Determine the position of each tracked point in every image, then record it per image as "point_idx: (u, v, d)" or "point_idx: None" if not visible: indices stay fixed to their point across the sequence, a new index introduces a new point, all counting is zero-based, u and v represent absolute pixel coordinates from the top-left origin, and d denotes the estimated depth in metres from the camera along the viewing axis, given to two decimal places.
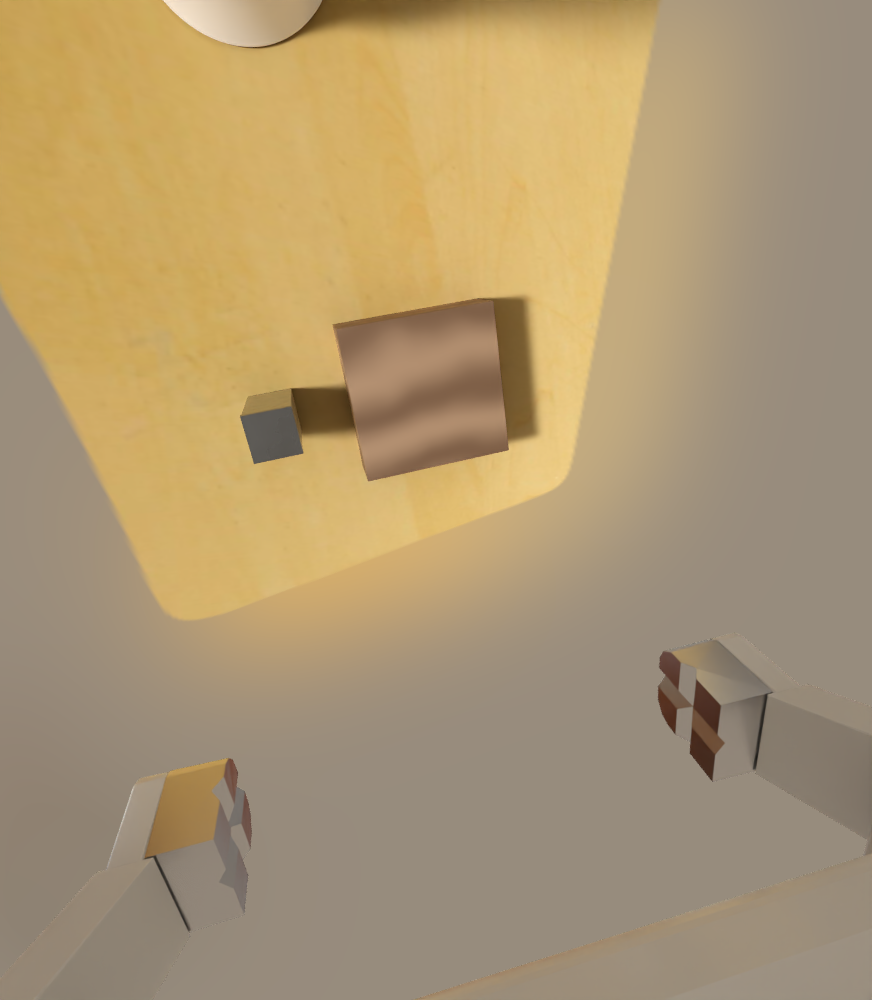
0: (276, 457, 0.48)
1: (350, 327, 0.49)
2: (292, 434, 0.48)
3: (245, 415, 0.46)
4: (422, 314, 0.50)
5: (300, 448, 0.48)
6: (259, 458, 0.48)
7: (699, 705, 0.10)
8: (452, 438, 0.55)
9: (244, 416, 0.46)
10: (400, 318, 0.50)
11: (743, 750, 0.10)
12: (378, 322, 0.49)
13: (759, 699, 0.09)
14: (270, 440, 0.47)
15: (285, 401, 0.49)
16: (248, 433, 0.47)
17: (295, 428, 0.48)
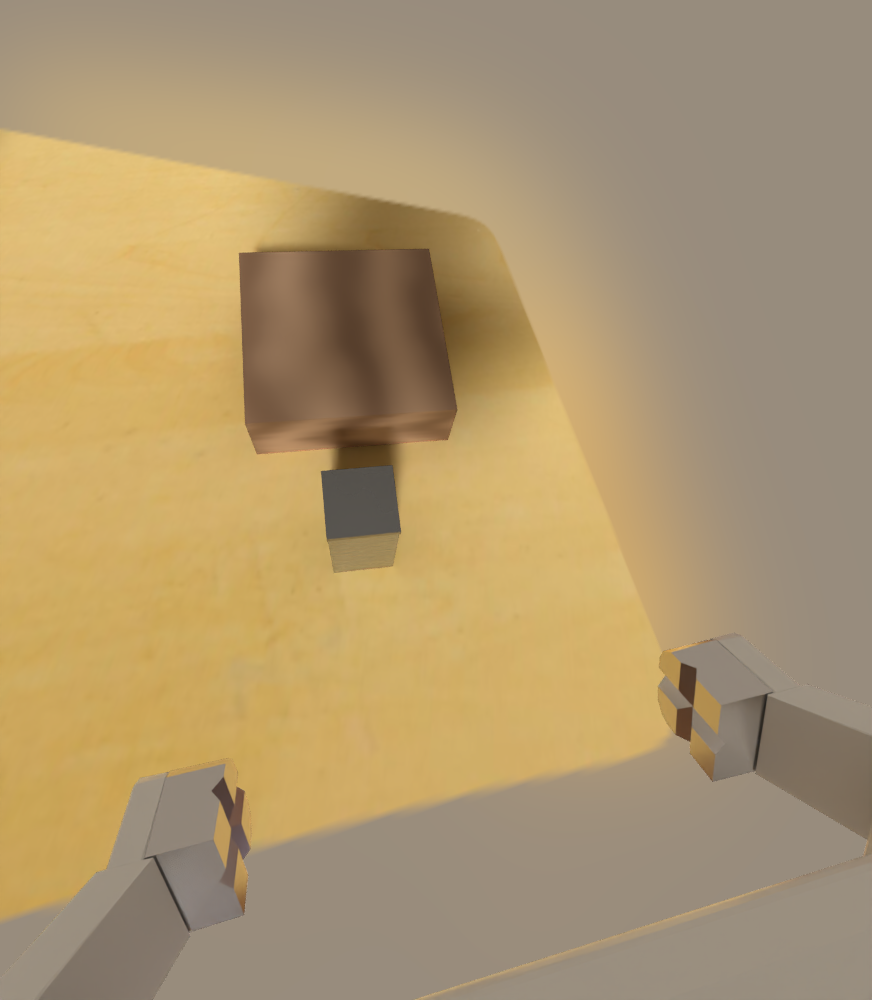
0: (394, 500, 0.33)
1: (245, 407, 0.38)
2: (362, 475, 0.33)
3: (327, 533, 0.32)
4: (242, 326, 0.40)
5: (384, 467, 0.34)
6: (393, 523, 0.32)
7: (700, 705, 0.10)
8: (407, 307, 0.42)
9: (327, 534, 0.32)
10: (243, 350, 0.39)
11: (743, 750, 0.10)
12: (244, 375, 0.38)
13: (759, 699, 0.09)
14: (367, 505, 0.33)
15: None
16: (353, 532, 0.32)
17: (354, 470, 0.33)
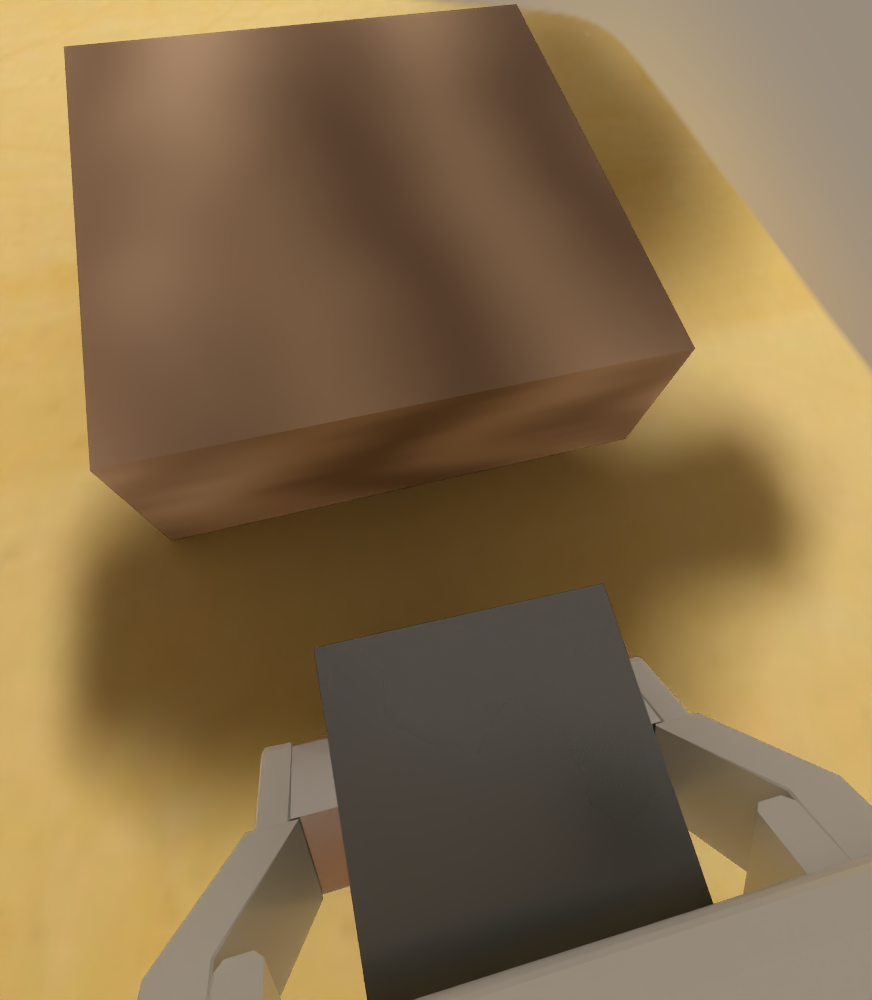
0: (649, 751, 0.07)
1: (91, 421, 0.12)
2: (491, 644, 0.08)
3: (369, 980, 0.06)
4: (77, 207, 0.15)
5: (574, 599, 0.08)
6: (673, 876, 0.07)
7: None
8: (497, 123, 0.17)
9: (374, 991, 0.06)
10: (81, 266, 0.14)
11: None
12: (85, 330, 0.13)
13: None
14: (537, 792, 0.07)
15: None
16: (500, 961, 0.06)
17: (453, 625, 0.08)
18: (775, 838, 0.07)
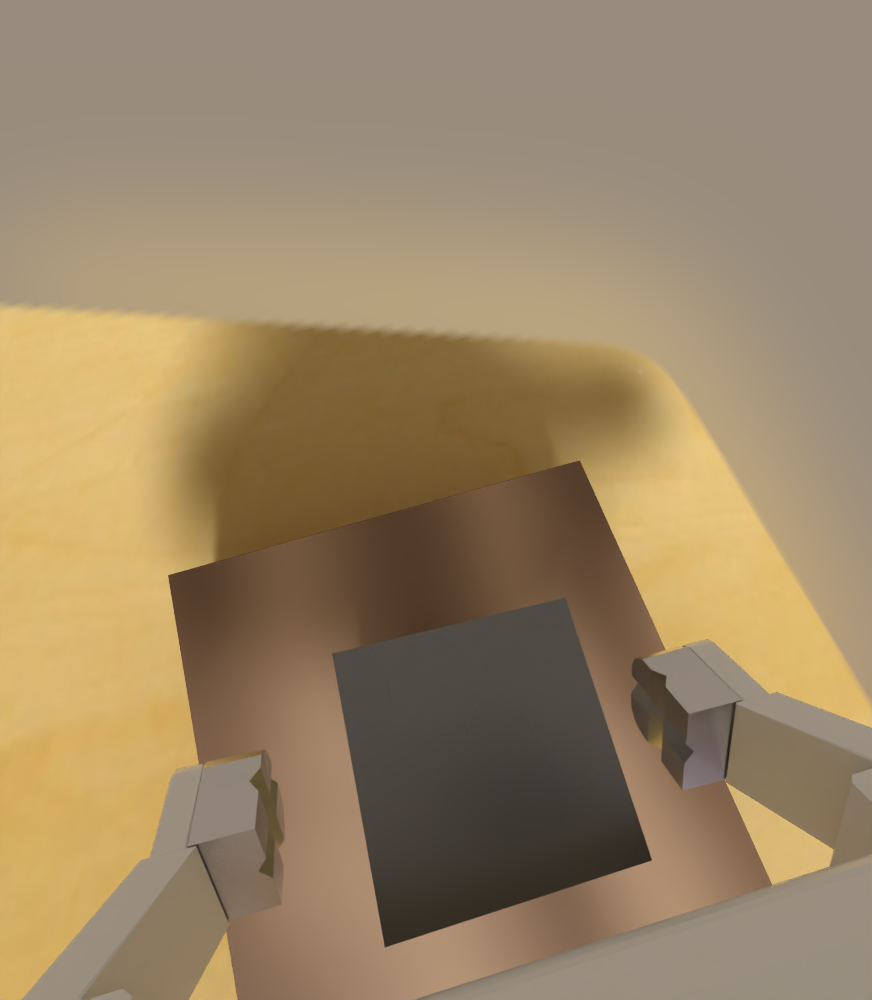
0: (600, 732, 0.09)
1: None
2: (475, 648, 0.10)
3: (381, 910, 0.08)
4: None
5: (542, 610, 0.10)
6: (617, 828, 0.09)
7: (670, 713, 0.10)
8: (578, 630, 0.18)
9: (385, 918, 0.08)
10: None
11: (713, 758, 0.10)
12: (235, 963, 0.14)
13: (728, 707, 0.09)
14: (511, 765, 0.09)
15: None
16: (482, 894, 0.08)
17: (444, 634, 0.10)
18: None
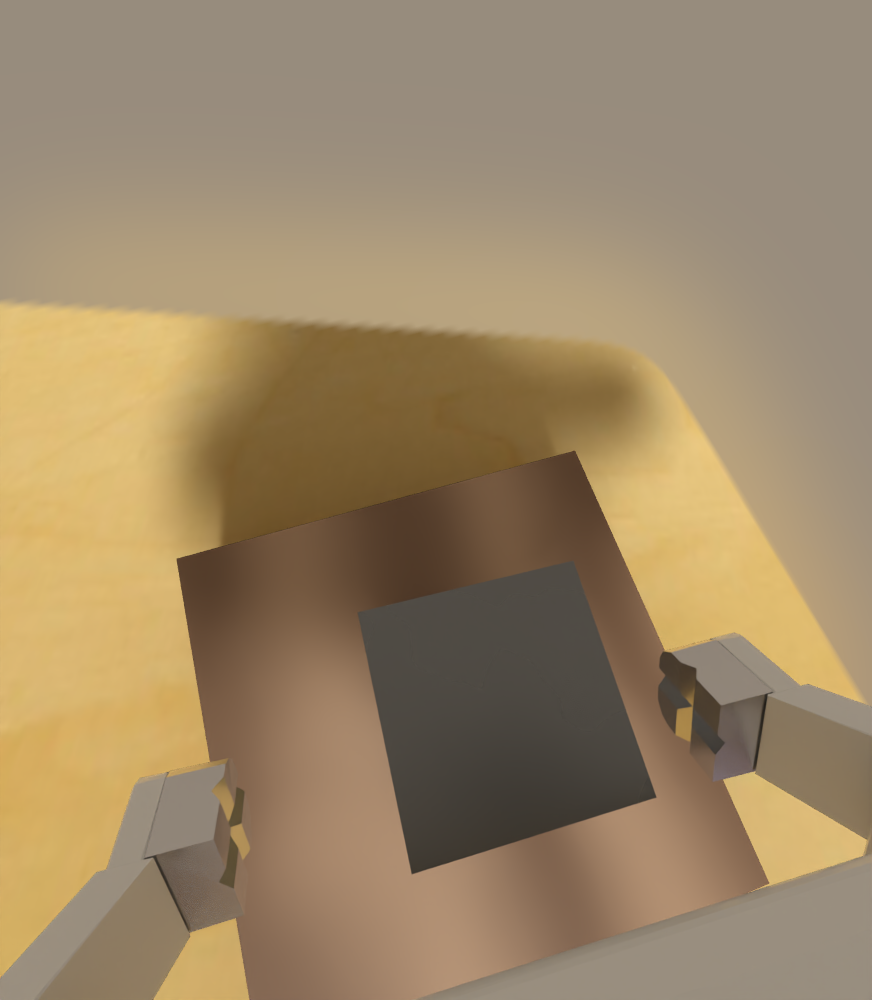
0: (608, 682, 0.10)
1: None
2: (489, 607, 0.10)
3: (407, 842, 0.09)
4: None
5: (551, 572, 0.11)
6: (624, 768, 0.10)
7: (700, 705, 0.10)
8: None
9: (412, 849, 0.09)
10: None
11: (743, 750, 0.10)
12: (241, 927, 0.15)
13: (759, 699, 0.09)
14: (525, 712, 0.10)
15: None
16: (500, 827, 0.09)
17: (461, 594, 0.10)
18: None
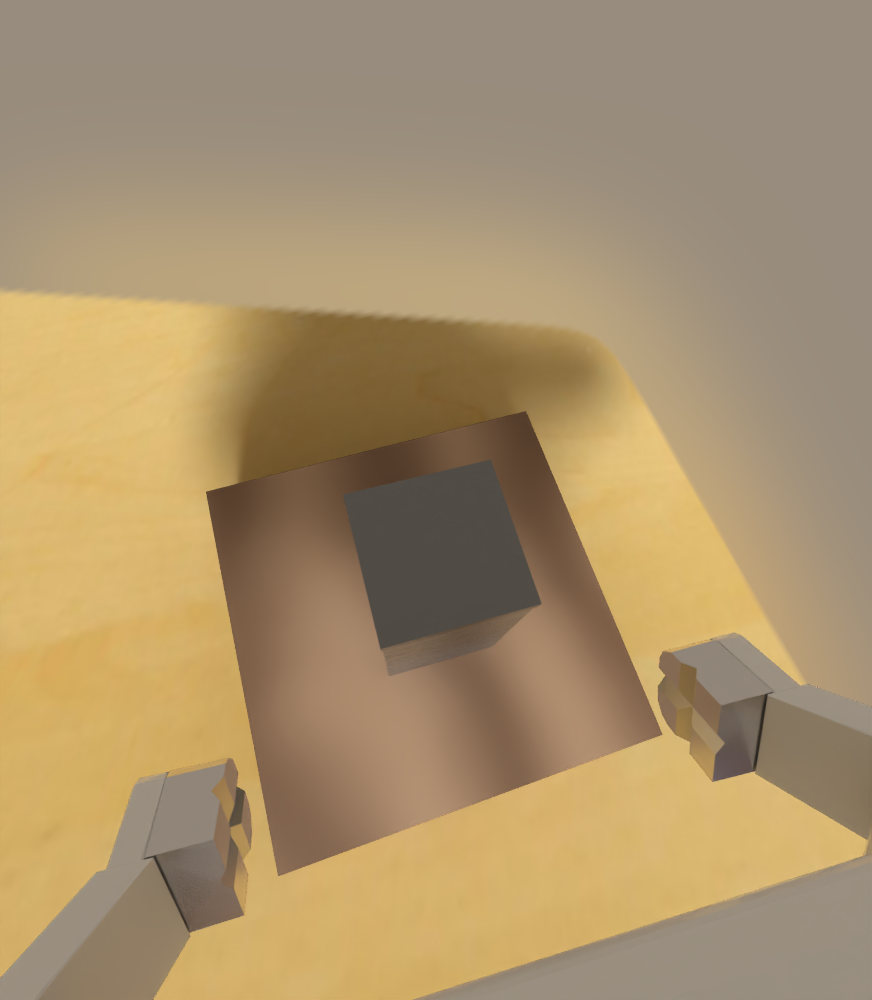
0: (511, 535, 0.15)
1: (273, 833, 0.19)
2: (432, 490, 0.15)
3: (378, 633, 0.14)
4: (237, 647, 0.21)
5: (475, 467, 0.16)
6: (521, 587, 0.14)
7: (700, 704, 0.10)
8: (519, 536, 0.23)
9: (380, 635, 0.14)
10: (247, 700, 0.21)
11: (743, 750, 0.10)
12: (258, 757, 0.20)
13: (759, 699, 0.09)
14: (455, 554, 0.15)
15: None
16: (438, 622, 0.14)
17: (412, 482, 0.15)
18: None
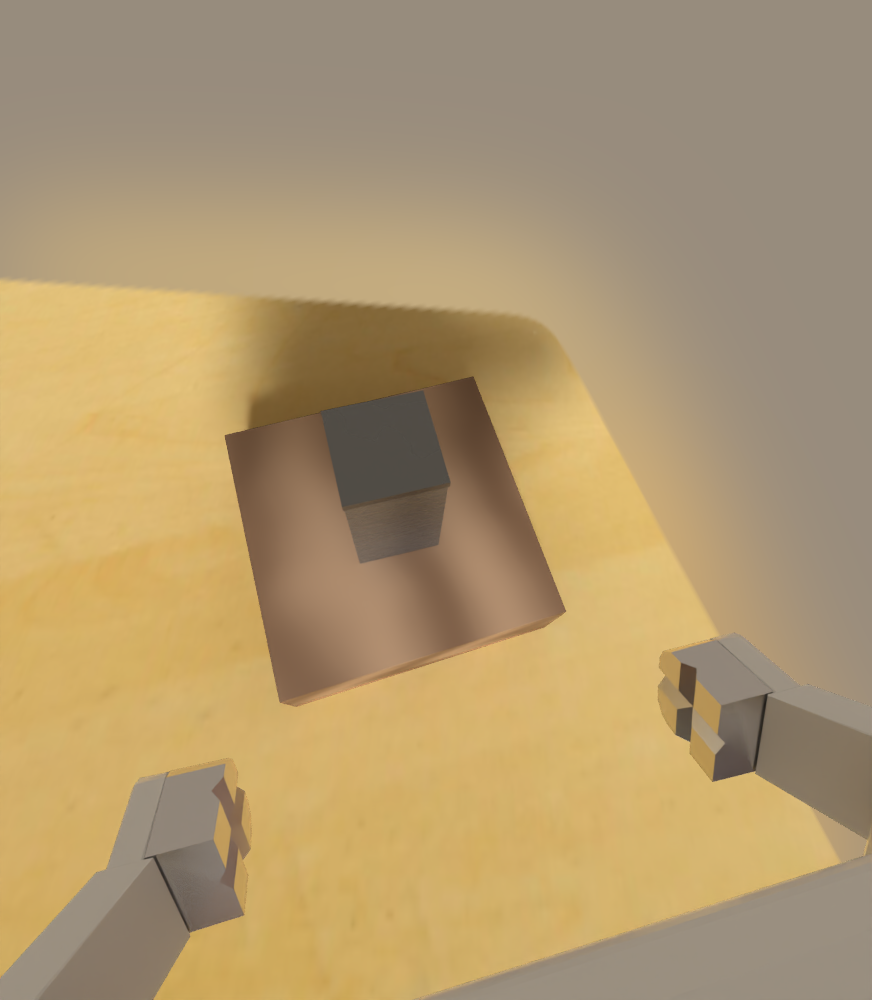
0: (434, 439, 0.22)
1: (275, 674, 0.26)
2: (381, 409, 0.22)
3: (341, 498, 0.21)
4: (249, 547, 0.28)
5: (412, 395, 0.23)
6: (437, 471, 0.22)
7: (700, 705, 0.10)
8: (464, 469, 0.31)
9: (342, 499, 0.21)
10: (257, 584, 0.28)
11: (743, 750, 0.10)
12: (265, 623, 0.27)
13: (759, 699, 0.09)
14: (395, 450, 0.22)
15: None
16: (380, 491, 0.21)
17: (368, 404, 0.23)
18: None
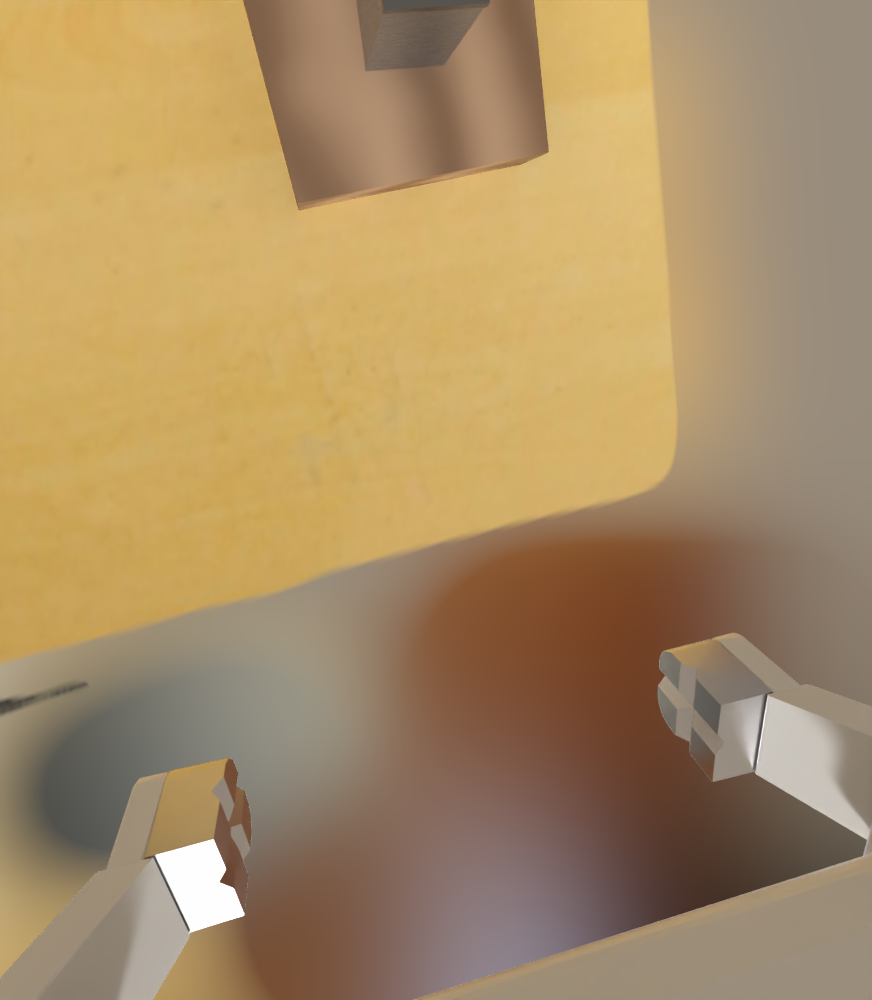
0: None
1: (292, 177, 0.30)
2: None
3: None
4: (252, 26, 0.27)
5: None
6: None
7: (700, 705, 0.10)
8: None
9: None
10: (265, 75, 0.28)
11: (743, 750, 0.10)
12: (278, 122, 0.29)
13: (759, 699, 0.09)
14: None
15: None
16: None
17: None
18: None
